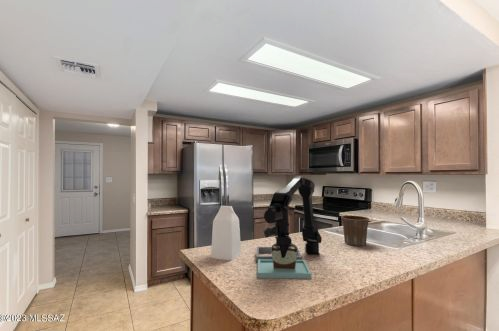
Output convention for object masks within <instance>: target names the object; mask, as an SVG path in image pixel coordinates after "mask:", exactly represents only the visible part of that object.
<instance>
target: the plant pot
mask: <svg viewBox="0 0 499 331" xmlns="http://www.w3.org/2000/svg"><path fill="white" fill-rule="evenodd" d="M340 218H341V223H342V228H343V238H344V240H343V241H344V243H345V244H346V245H347V246H352V247H353V246H356V247H365V246H366V245H367V237H368V226H369V222H370V217H367V216H364V215H363V216H362V215H349V214H348V215H342V216H341V217H340Z"/></svg>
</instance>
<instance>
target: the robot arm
mask: <svg viewBox="0 0 499 331" xmlns="http://www.w3.org/2000/svg"><path fill="white" fill-rule="evenodd" d="M315 187H316V185H315V183H314V181H313V180H310V179H308V178H306V177H303V176H294V177H293V178H292V180H291V181H289V182H288V184H287V185H286V186H285V187H283V188H282V189H278V190H277V191H275V192H274V193H273V195H272V198H271V200H270V203H269V206H268V207H267V210H265V211H264V214H263V218H264V221H265V223H267V224H273V225H271V226H267V227H264V228H263V229H262V230H263V234H264V237H265V238H268V237H270V236H274V238H275V243H276V244H277V245H279V246H280V251H281V256H282V258H285V255H286V253H287V250H288V248H289V246H290V244H293V242H292V237H291V236H290V232H289V230H290V221H289V220H290V218H289V217H290V216H289V214H290V213H289V210H291V207H290V206H289V205H290V204H291V202H292V201H293V195H294V194H295V193H296V192H297V191H298V194H299V196H300V197H301V199H302V206H303V207H302V208H303V217H304V219H303V220H304V224H303V225H304V226H303V227H302V228H301V232H302V233H301V236H302V242H305V243H304V252H305V253H306V255H309V256H311V255H314V256H315V255H316V256H318V255H320V254H321V253H320V248H319V244H322V239H323V238H322V235H321V234H320V232H319V228H318V226H317V224H316V223H315V219H314V217H315V216H314V208H313V195H314V193H315Z"/></svg>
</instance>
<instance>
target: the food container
mask: <svg viewBox="0 0 499 331" xmlns="http://www.w3.org/2000/svg"><path fill="white" fill-rule="evenodd" d="M270 247H271V250H270V252H271V251H272V253H271V256H272V259H273V267H274V269H293V270H295V267H296V259H297V251H298V249H299V247H298V246H297V245H296V244H294V243H292V244H290V246H289V248H288V250H287V253H286V255H285V258H282V256H281V251H280V246H279V245H277V244H276V242H275V243H274V244H272V245H271V246H270ZM297 247H298V248H297ZM299 252H300V250H299V251H298V253H299Z"/></svg>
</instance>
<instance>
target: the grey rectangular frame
mask: <svg viewBox="0 0 499 331" xmlns="http://www.w3.org/2000/svg"><path fill="white" fill-rule="evenodd" d="M271 247H272V246H257V247H256V252H255V253H256V254H255V262H256V263H255V264H258V259H270V260H273V259H272V255H260V254H272V251H271V252H270V250H271ZM297 248H298V251H299V253H298V251H297V259H296V260H303V255H302V254H301V251H300V249H299V247H298V246H297Z"/></svg>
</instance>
